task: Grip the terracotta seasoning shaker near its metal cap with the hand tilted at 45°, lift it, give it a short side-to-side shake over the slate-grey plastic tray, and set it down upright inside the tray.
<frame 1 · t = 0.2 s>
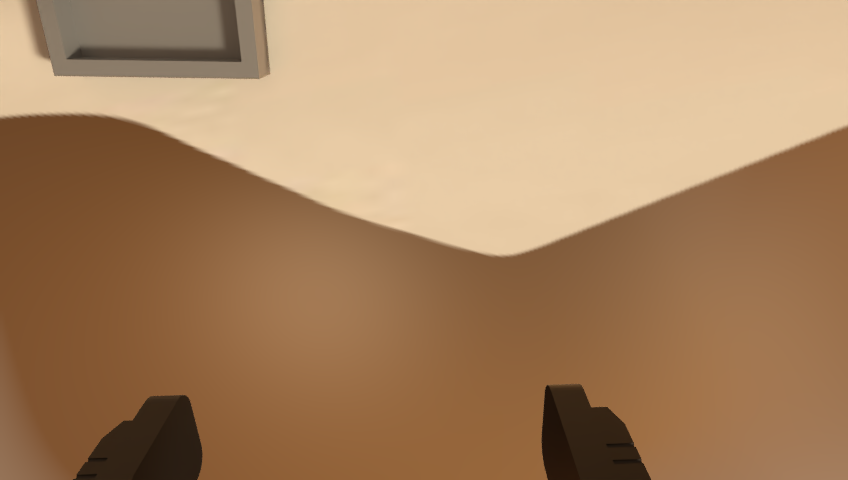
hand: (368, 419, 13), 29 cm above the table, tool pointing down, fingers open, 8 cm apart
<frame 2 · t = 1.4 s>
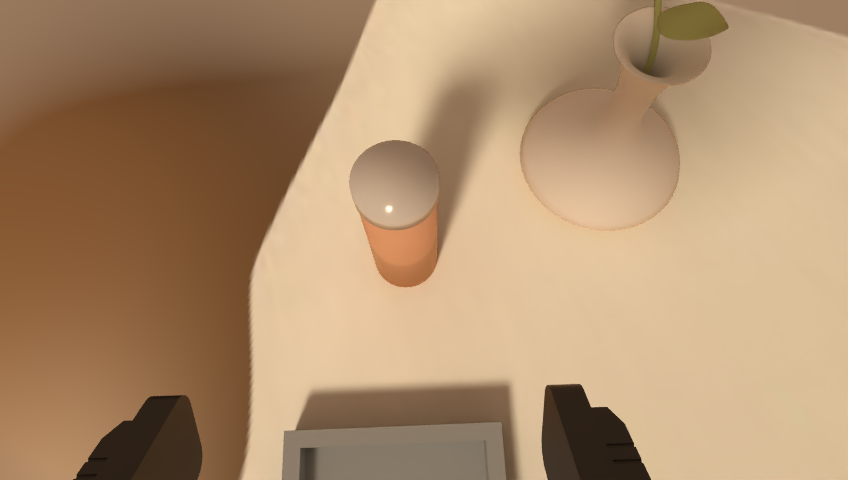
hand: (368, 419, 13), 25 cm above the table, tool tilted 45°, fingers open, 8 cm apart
shaker: (406, 257, 40), on the table
flower in vase: (590, 160, 43), on the table
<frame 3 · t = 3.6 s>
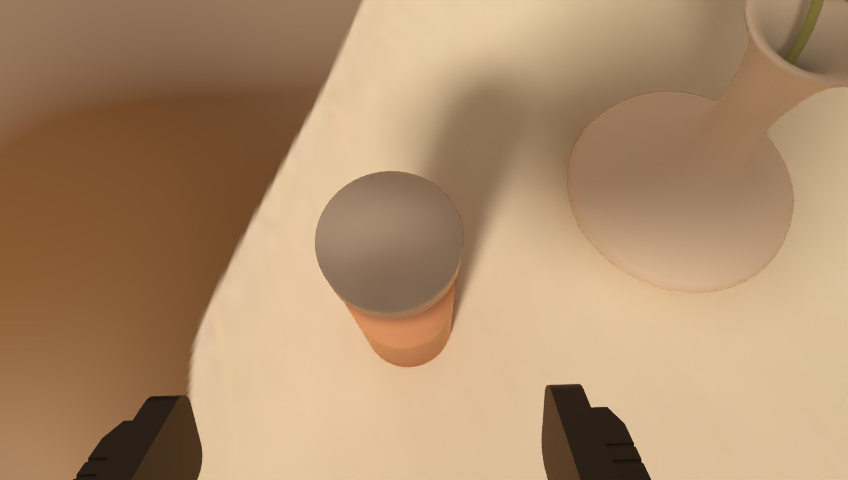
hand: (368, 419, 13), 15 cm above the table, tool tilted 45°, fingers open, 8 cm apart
shaker: (408, 323, 29), on the table
flower in vase: (660, 189, 31), on the table
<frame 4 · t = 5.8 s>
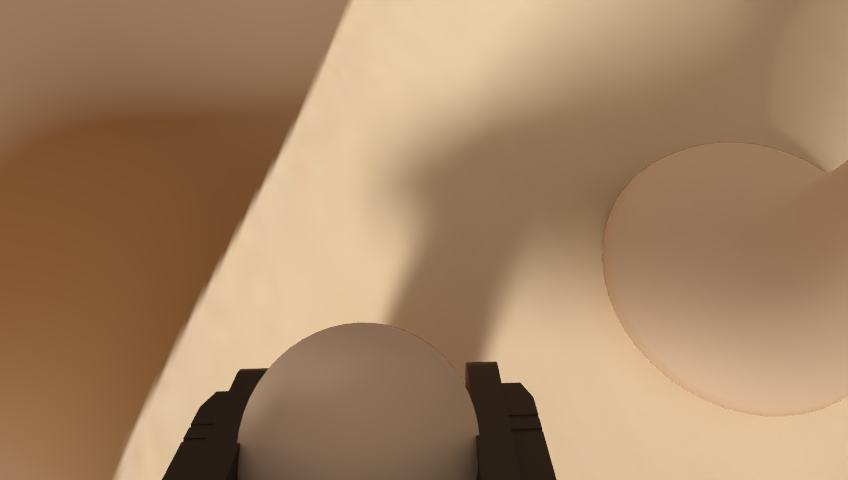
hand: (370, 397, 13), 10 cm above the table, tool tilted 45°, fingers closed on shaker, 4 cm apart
shaker: (396, 449, 22), on the table, touching gripper
flower in vase: (718, 264, 25), on the table
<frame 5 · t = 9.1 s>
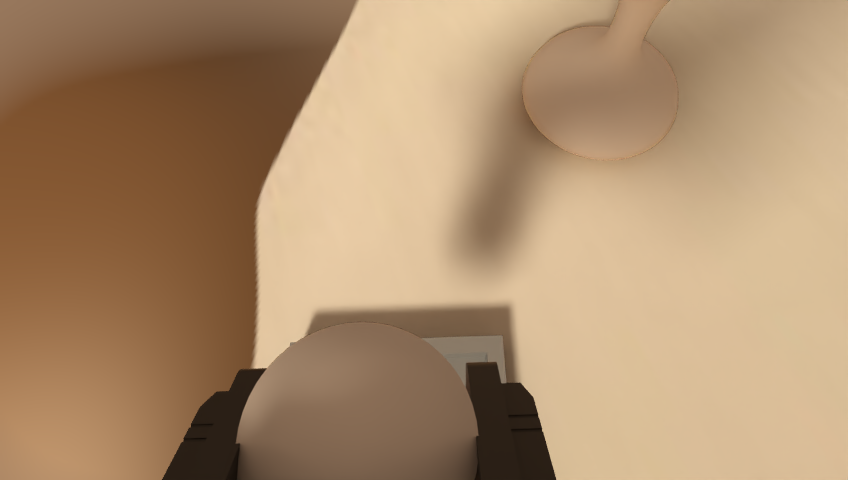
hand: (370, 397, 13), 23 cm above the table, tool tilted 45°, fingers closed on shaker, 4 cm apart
shaker: (396, 448, 22), point 13 cm above the table, touching gripper
tray: (400, 452, 34), on the table
flower in vase: (590, 97, 44), on the table
when the fingers open (12 cm above the table, at t = 12.8 s): shaker drops 1 cm, resting on tray.
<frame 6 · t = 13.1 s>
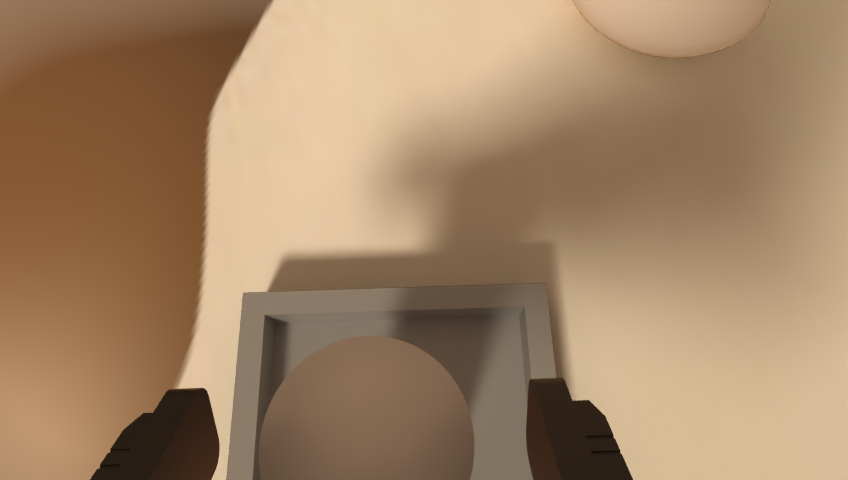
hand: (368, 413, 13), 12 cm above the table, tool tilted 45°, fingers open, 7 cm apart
shaker: (400, 452, 23), point 1 cm above the table, touching tray
tray: (399, 449, 24), on the table
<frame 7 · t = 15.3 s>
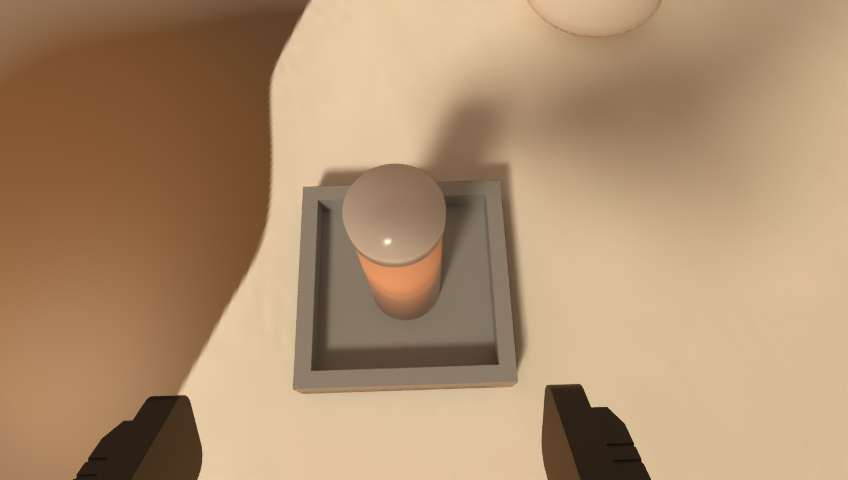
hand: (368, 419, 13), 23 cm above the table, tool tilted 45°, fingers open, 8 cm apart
shaker: (406, 286, 36), point 1 cm above the table, touching tray
tray: (405, 288, 37), on the table
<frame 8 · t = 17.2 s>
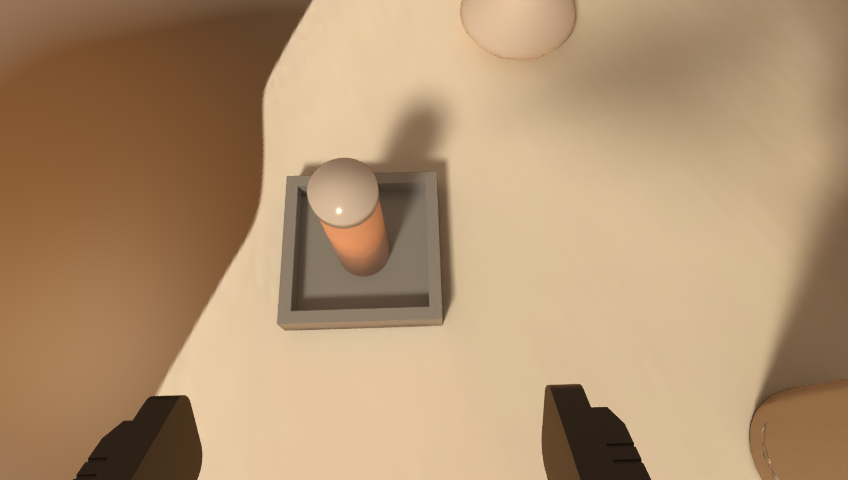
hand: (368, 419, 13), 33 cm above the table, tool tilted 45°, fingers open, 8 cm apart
shaker: (364, 251, 48), point 1 cm above the table, touching tray
tray: (364, 254, 49), on the table
flower in vase: (514, 19, 58), on the table
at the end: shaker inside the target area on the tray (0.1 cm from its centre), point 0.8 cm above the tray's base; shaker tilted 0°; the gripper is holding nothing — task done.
